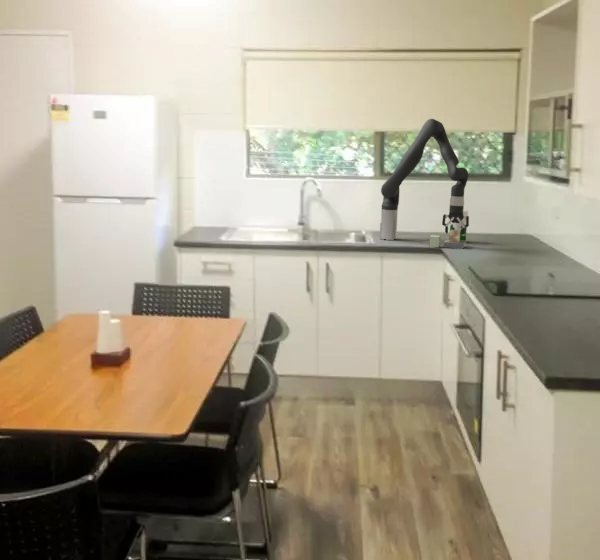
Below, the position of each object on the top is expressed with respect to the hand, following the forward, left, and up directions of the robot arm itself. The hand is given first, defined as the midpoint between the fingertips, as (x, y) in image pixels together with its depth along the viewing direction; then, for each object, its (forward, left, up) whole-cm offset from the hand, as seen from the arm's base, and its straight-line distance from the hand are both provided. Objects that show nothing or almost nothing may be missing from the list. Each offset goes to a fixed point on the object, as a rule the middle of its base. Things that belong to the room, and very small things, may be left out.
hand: (454, 233), depth 462 cm
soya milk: (0, +20, -7) cm, 22 cm away
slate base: (0, 0, -7) cm, 7 cm away
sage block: (-10, -4, -7) cm, 13 cm away
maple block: (0, 0, -4) cm, 4 cm away
